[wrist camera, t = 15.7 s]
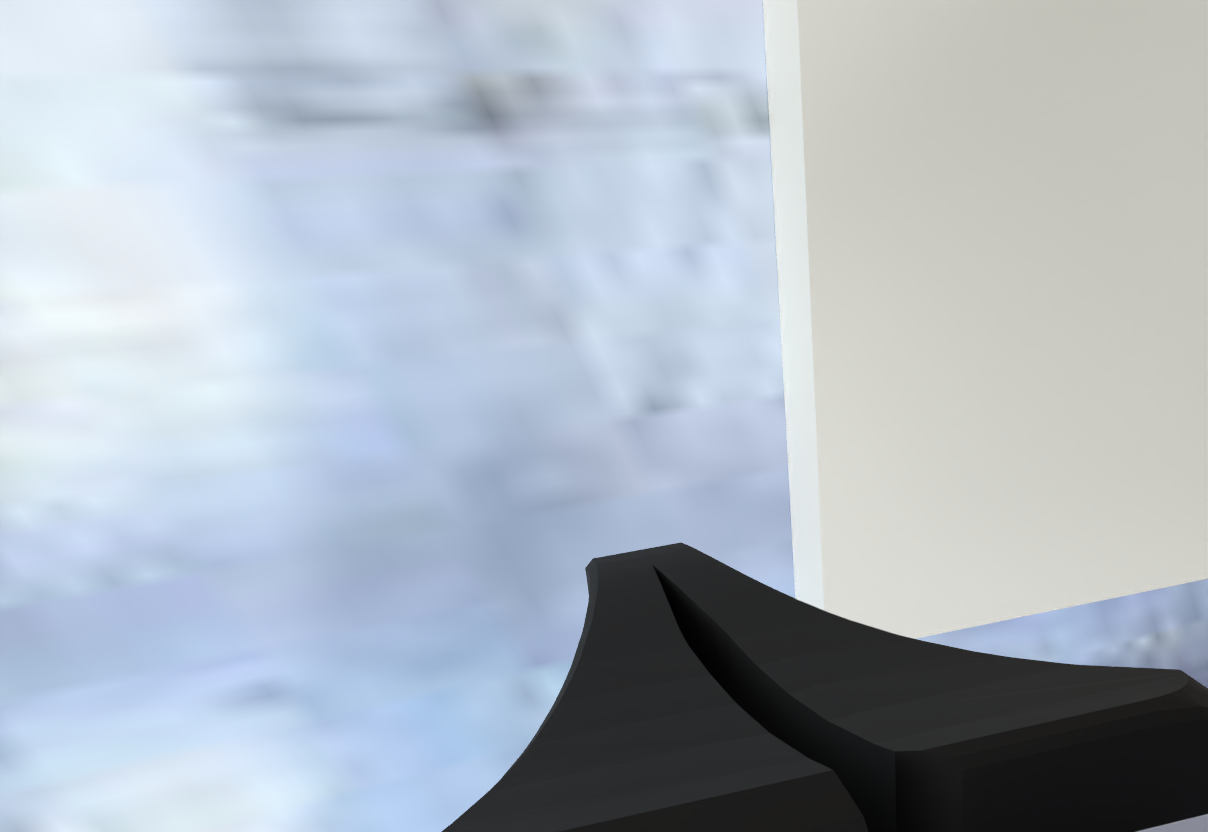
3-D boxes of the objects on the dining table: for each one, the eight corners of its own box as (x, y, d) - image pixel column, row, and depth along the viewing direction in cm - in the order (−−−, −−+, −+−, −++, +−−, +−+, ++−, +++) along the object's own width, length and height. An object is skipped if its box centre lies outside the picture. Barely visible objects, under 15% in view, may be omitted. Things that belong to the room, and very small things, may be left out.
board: (1239, 531, 27) (1300, 559, 25) (796, 619, 25) (826, 657, 23) (1301, -59, 22) (1383, -81, 20) (762, -8, 20) (796, -26, 18)
